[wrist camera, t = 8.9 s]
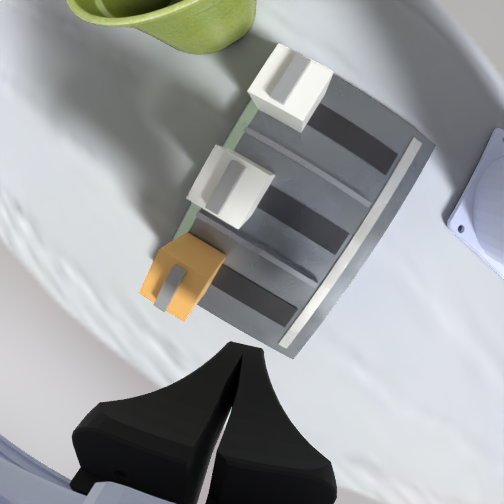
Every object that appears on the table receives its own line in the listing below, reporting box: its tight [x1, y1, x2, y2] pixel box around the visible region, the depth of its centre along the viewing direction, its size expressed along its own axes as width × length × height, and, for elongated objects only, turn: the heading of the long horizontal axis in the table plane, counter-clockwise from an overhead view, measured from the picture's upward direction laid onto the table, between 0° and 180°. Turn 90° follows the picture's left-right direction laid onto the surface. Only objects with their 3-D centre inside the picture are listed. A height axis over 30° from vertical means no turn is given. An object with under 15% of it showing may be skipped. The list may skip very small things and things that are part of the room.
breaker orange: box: [139, 232, 226, 322], centre depth 16 cm, size 3×3×4 cm
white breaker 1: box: [186, 144, 275, 229], centre depth 15 cm, size 3×3×4 cm
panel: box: [171, 75, 436, 359], centre depth 17 cm, size 10×15×2 cm, turn 150°
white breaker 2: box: [247, 43, 334, 133], centre depth 13 cm, size 3×3×4 cm
